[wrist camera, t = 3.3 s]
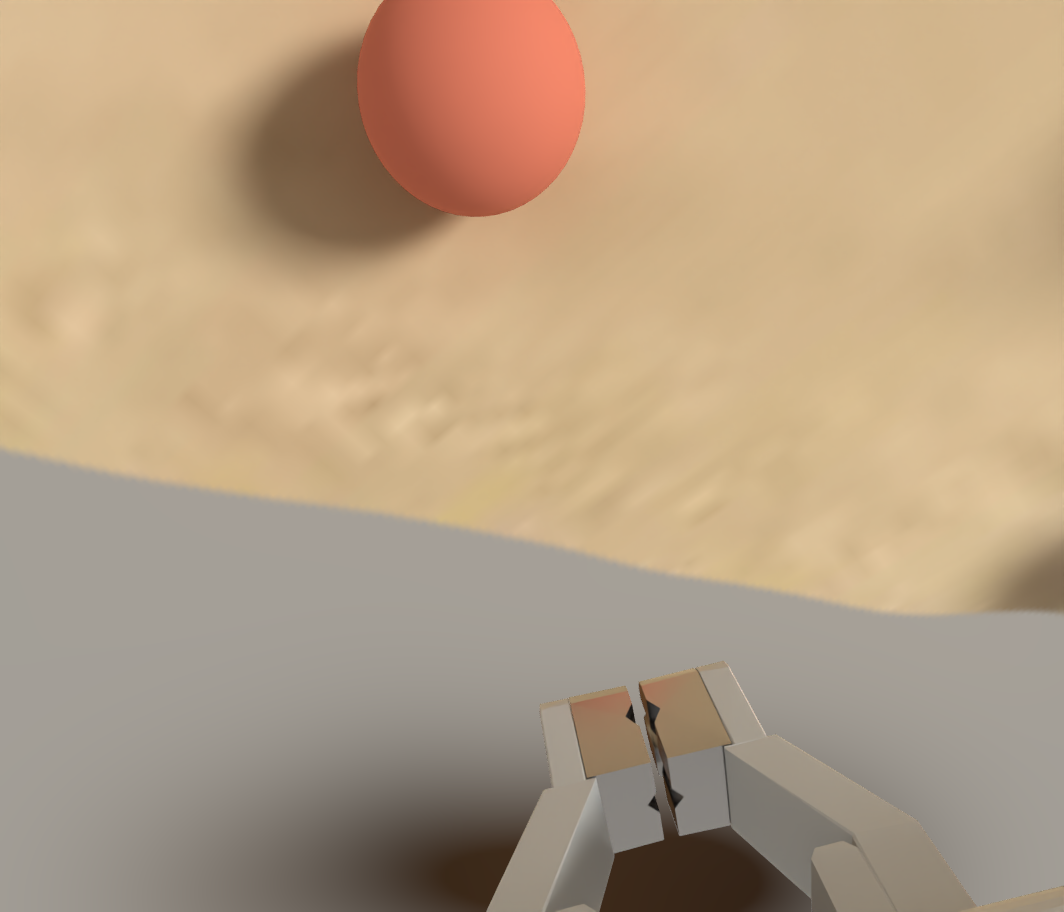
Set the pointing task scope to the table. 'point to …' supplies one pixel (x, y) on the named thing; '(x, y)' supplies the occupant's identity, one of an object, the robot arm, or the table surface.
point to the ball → (471, 99)
